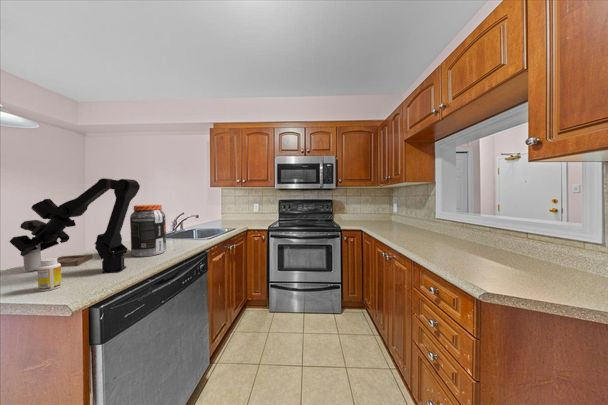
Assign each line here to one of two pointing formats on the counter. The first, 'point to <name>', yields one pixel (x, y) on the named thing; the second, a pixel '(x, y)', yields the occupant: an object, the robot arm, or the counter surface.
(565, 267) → the counter surface
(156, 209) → the supplement tub
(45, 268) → the supplement bottle
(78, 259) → the walnut tray
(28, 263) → the beverage can
